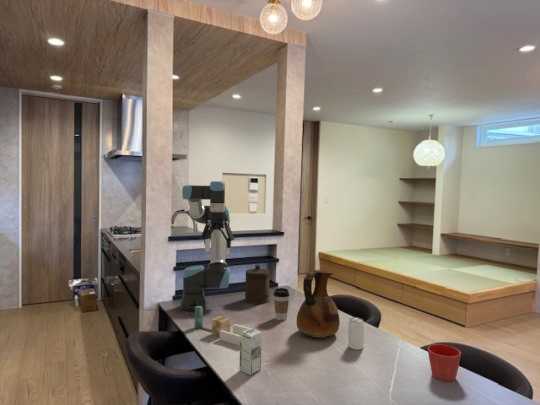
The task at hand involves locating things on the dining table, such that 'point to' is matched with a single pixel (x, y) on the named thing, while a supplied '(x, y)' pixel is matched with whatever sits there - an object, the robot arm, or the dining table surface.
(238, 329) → the rail lane
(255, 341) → the syrup box
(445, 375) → the flower pot
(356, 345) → the can
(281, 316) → the coffee cup
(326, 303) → the ceramic pitcher
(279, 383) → the dining table surface
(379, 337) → the dining table surface
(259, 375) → the dining table surface
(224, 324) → the corded oak block
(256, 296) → the wooden container
